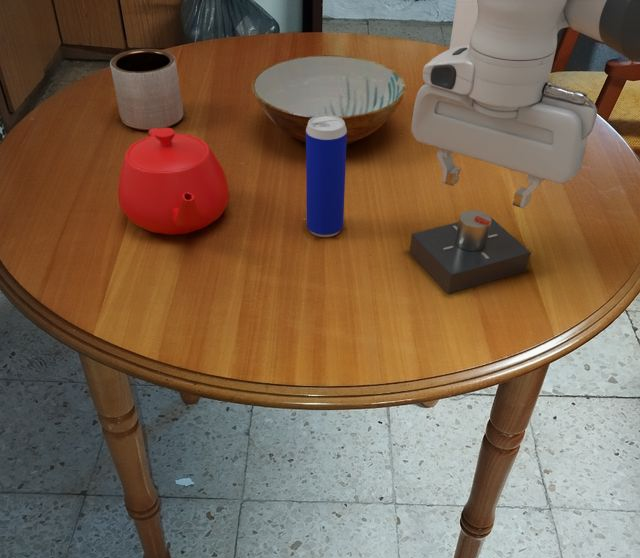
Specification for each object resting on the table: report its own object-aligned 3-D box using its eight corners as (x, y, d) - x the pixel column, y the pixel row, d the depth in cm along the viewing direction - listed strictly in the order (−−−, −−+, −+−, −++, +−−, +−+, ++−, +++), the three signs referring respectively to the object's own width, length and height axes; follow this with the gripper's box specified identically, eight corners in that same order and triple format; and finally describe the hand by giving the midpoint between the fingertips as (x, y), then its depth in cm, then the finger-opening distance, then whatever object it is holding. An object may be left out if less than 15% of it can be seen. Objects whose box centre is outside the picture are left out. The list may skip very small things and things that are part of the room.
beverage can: (338, 217, 98) (341, 112, 86) (346, 236, 94) (351, 129, 83) (303, 221, 97) (302, 115, 86) (310, 240, 93) (310, 133, 82)
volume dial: (449, 242, 88) (453, 216, 85) (467, 230, 90) (472, 204, 87) (474, 254, 86) (479, 228, 83) (492, 242, 88) (498, 216, 85)
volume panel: (483, 233, 95) (487, 212, 93) (525, 271, 89) (531, 251, 87) (409, 252, 92) (411, 232, 89) (447, 294, 86) (451, 273, 83)
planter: (140, 138, 113) (128, 79, 106) (110, 116, 119) (97, 58, 112) (195, 121, 118) (188, 62, 111) (164, 100, 124) (155, 43, 116)
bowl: (358, 92, 127) (361, 45, 121) (429, 149, 112) (436, 99, 106) (233, 116, 119) (228, 68, 113) (290, 181, 104) (289, 129, 98)
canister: (527, 118, 120) (558, -11, 105) (454, 123, 118) (474, -8, 103) (502, 87, 128) (527, -36, 114) (433, 91, 127) (449, -33, 112)
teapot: (110, 185, 103) (91, 104, 94) (210, 168, 107) (200, 88, 98) (141, 277, 87) (121, 191, 78) (256, 254, 91) (250, 168, 82)
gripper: (612, 86, 70) (576, 207, 80) (437, 46, 78) (425, 161, 88) (591, 108, 66) (555, 232, 77) (410, 63, 74) (400, 181, 85)
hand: (484, 193), depth 83 cm, fingers open, 8 cm apart
